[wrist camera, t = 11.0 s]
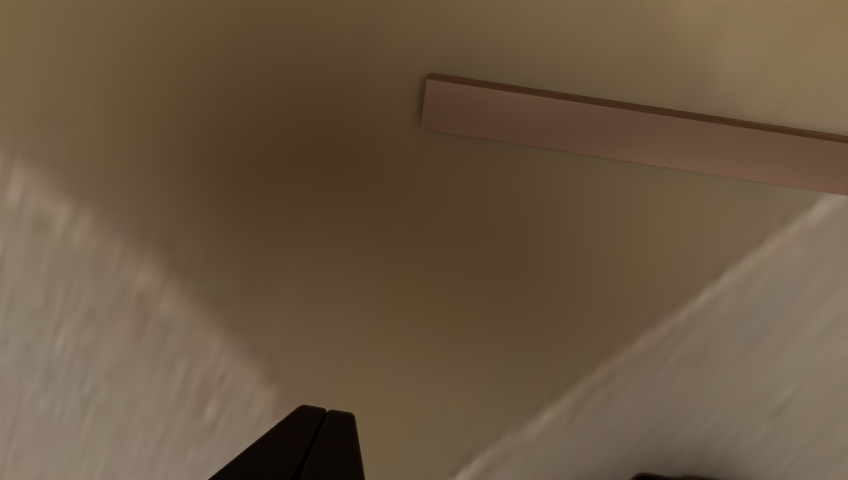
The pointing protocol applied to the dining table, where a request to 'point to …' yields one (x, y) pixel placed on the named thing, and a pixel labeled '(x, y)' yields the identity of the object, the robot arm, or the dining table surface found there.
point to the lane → (636, 133)
